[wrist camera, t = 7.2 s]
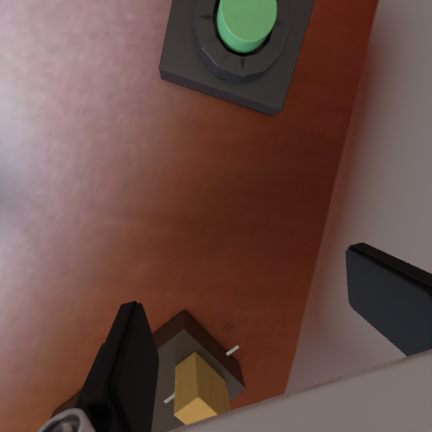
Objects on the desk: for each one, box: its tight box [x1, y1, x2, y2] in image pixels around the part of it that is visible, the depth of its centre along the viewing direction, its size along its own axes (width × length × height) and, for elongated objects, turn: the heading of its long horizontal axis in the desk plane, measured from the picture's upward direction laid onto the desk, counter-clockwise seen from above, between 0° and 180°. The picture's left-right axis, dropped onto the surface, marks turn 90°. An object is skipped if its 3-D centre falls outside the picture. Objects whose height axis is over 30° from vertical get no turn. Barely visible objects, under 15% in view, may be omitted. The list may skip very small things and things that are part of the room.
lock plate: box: [50, 310, 246, 432], centre depth 25 cm, size 21×10×3 cm, turn 128°
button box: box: [159, 0, 314, 115], centre depth 18 cm, size 10×8×4 cm
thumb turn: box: [174, 352, 231, 425], centre depth 21 cm, size 5×2×5 cm, turn 36°
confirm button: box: [217, 0, 277, 53], centre depth 15 cm, size 4×4×2 cm
